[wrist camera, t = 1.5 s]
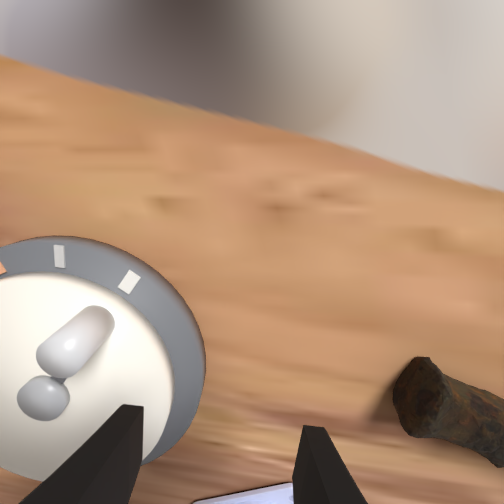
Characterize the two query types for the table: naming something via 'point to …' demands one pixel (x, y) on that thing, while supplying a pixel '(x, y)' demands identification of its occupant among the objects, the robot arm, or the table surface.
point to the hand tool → (449, 410)
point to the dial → (73, 369)
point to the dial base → (138, 294)
